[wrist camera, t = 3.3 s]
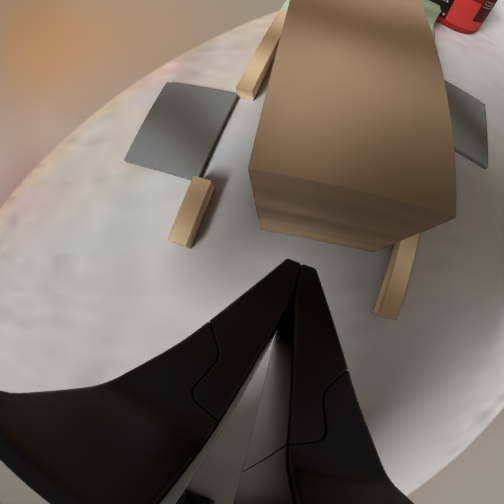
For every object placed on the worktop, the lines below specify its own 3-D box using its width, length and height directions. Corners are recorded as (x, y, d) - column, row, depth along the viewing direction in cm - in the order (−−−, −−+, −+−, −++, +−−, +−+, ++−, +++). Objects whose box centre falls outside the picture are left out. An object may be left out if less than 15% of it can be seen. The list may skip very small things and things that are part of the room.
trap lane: (456, 340, 14) (486, 347, 11) (103, 215, 16) (74, 201, 13) (474, 52, 16) (487, 33, 13) (249, -23, 18) (246, -46, 15)
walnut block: (372, 252, 15) (456, 217, 7) (260, 229, 15) (248, 168, 7) (380, 60, 16) (412, -22, 8) (298, 42, 17) (303, -48, 9)
